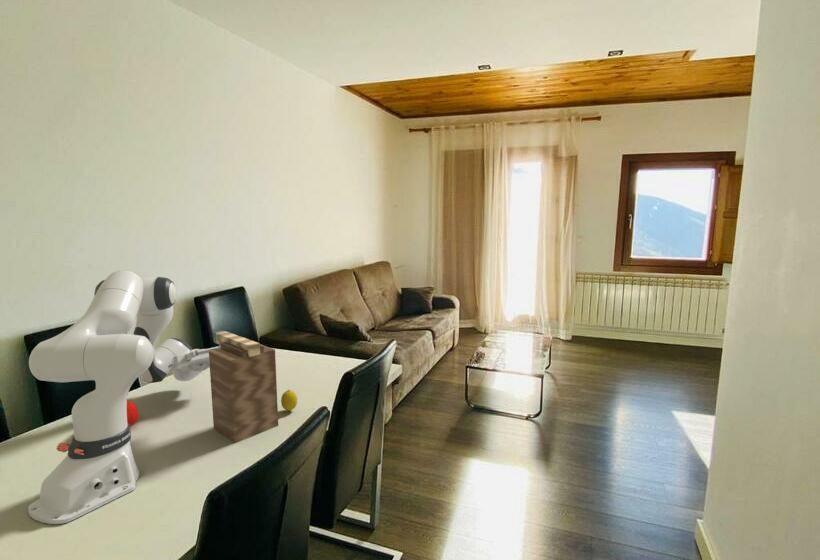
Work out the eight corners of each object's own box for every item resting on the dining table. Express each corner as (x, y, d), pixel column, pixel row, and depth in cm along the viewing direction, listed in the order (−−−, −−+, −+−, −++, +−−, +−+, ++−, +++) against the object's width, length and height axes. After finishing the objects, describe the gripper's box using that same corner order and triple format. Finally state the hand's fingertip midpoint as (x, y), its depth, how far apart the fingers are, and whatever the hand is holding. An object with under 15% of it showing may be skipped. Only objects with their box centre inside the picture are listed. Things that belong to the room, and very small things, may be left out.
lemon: (293, 415, 149) (292, 393, 148) (278, 413, 150) (277, 392, 149) (300, 408, 154) (299, 387, 153) (286, 407, 155) (285, 386, 154)
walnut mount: (234, 443, 130) (229, 354, 126) (213, 428, 139) (208, 345, 135) (278, 425, 141) (274, 343, 137) (256, 413, 150) (252, 335, 147)
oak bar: (260, 354, 133) (259, 343, 132) (249, 356, 130) (249, 345, 130) (223, 340, 148) (223, 330, 148) (213, 342, 146) (213, 332, 145)
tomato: (78, 439, 132) (75, 412, 131) (108, 420, 144) (106, 396, 143) (121, 440, 131) (119, 413, 130) (148, 421, 144) (146, 396, 143)
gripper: (164, 360, 154) (176, 348, 146) (220, 347, 170) (233, 336, 161) (168, 376, 153) (181, 365, 144) (224, 362, 168) (238, 351, 160)
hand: (209, 349), depth 153 cm, fingers open, 8 cm apart
